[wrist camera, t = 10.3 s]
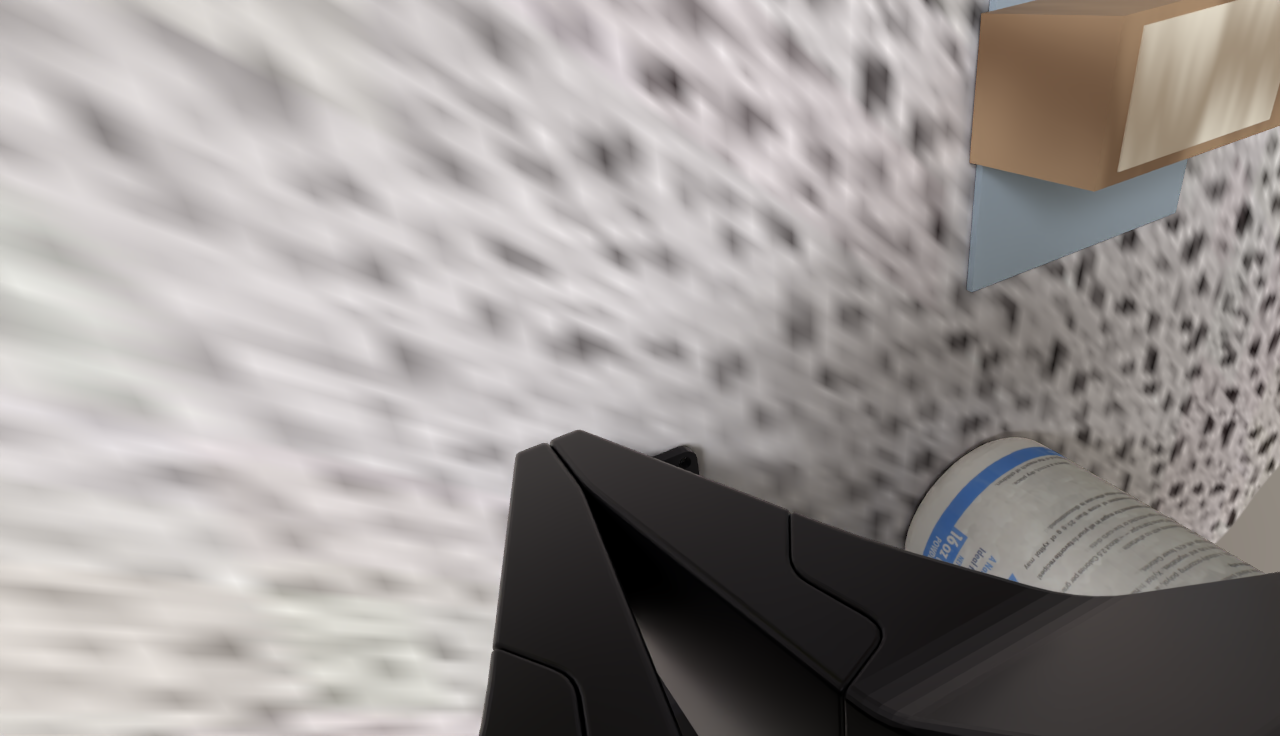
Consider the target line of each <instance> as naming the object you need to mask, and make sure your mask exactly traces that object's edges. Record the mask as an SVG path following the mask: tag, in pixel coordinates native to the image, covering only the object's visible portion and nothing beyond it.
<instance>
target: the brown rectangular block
mask: <svg viewBox="0 0 1280 736" xmlns="http://www.w3.org/2000/svg"><path fill="white" fill-rule="evenodd" d="M1277 126H1280V0H1035V1H1031V2H1027V3H1022V4H1018V5H1014V6H1010V7H1006V8H1002V9H998V10H994V11H990V12H986V13H981V24H980V37H979V50H978V62H977V75H976V88H975V100H974V113H973V125H972V138H971V151H970V163H973V164H977V165H982V166H986V167H990V168H994V169H999V170H1003V171H1007V172H1012V173H1016V174H1020V175H1025V176H1029V177H1033V178H1037V179H1042V180H1046V181H1050V182H1055V183H1059V184H1063V185H1068V186H1072V187H1076V188H1080V189H1085V190H1089V191H1093V192H1095V191H1098V190H1100V189H1103V188H1106V187H1109V186H1112V185H1115V184H1117V183H1120V182H1123V181H1126V180H1129V179H1131V178H1134V177H1137V176H1140V175H1143V174H1145V173H1148V172H1151V171H1154V170H1157V169H1159V168H1162V167H1165V166H1168V165H1171V164H1174V163H1176V162H1179V161H1182V160H1185V159H1188V158H1190V157H1193V156H1196V155H1199V154H1202V153H1204V152H1207V151H1210V150H1213V149H1216V148H1218V147H1221V146H1224V145H1227V144H1230V143H1232V142H1235V141H1238V140H1241V139H1244V138H1247V137H1249V136H1252V135H1255V134H1258V133H1261V132H1263V131H1266V130H1269V129H1272V128H1275V127H1277Z"/></svg>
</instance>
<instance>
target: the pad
mask: <svg viewBox="0 0 1280 736" xmlns="http://www.w3.org/2000/svg"><path fill="white" fill-rule="evenodd" d="M1031 1H1035V0H990V5H989V12H990V11H994V10H998V9H1002V8H1006V7H1010V6H1014V5H1018V4H1022V3H1027V2H1031ZM1187 160H1188V159H1185V160H1182V161H1179V162H1176V163H1174V164H1171V165H1168V166H1165V167H1162V168H1159V169H1157V170H1154V171H1151V172H1148V173H1145V174H1143V175H1140V176H1137V177H1134V178H1131V179H1129V180H1126V181H1123V182H1120V183H1117V184H1115V185H1112V186H1109V187H1106V188H1103V189H1100V190H1098V191H1095V192H1093V191H1089V190H1085V189H1080V188H1076V187H1072V186H1068V185H1063V184H1059V183H1055V182H1050V181H1046V180H1042V179H1037V178H1033V177H1029V176H1025V175H1020V174H1016V173H1012V172H1007V171H1003V170H999V169H994V168H990V167H986V166H982V165H977V166H976V179H975V191H974V204H973V216H972V229H971V241H970V253H969V266H968V278H967V290H968V291H970V292H974V291H977V290H979V289H982V288H984V287H987V286H989V285H992V284H995V283H997V282H1000V281H1002V280H1005V279H1007V278H1010V277H1012V276H1015V275H1018V274H1020V273H1023V272H1025V271H1028V270H1030V269H1033V268H1036V267H1038V266H1041V265H1043V264H1046V263H1048V262H1051V261H1053V260H1056V259H1059V258H1061V257H1064V256H1066V255H1069V254H1071V253H1074V252H1076V251H1079V250H1082V249H1084V248H1087V247H1089V246H1092V245H1094V244H1097V243H1099V242H1102V241H1105V240H1107V239H1110V238H1112V237H1115V236H1117V235H1120V234H1122V233H1125V232H1128V231H1130V230H1133V229H1135V228H1138V227H1140V226H1143V225H1145V224H1148V223H1151V222H1153V221H1156V220H1158V219H1161V218H1163V217H1166V216H1168V215H1171V214H1174V213H1176V209H1177V204H1178V200H1179V195H1180V191H1181V186H1182V182H1183V178H1184V173H1185V169H1186V164H1187Z"/></svg>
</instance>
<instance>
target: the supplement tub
mask: <svg viewBox="0 0 1280 736" xmlns="http://www.w3.org/2000/svg"><path fill="white" fill-rule="evenodd" d="M905 550H906V551H910V552H913V553H917V554H920V555H924V556H927V557H931V558H934V559H938V560H941V561H945V562H948V563H952V564H956V565H959V566H963V567H966V568H970V569H973V570H977V571H980V572H984V573H987V574H991V575H995V576H998V577H1002V578H1005V579H1009V580H1012V581H1016V582H1019V583H1023V584H1026V585H1030V586H1034V587H1038V588H1042V589H1046V590H1051V591H1056V592H1062V593H1068V594H1074V595H1087V596H1117V595H1126V594H1134V593H1141V592H1148V591H1154V590H1161V589H1168V588H1175V587H1181V586H1188V585H1195V584H1201V583H1208V582H1215V581H1222V580H1228V579H1235V578H1242V577H1248V576H1255V575H1262V574H1265V573H1263V572H1261V571H1260V570H1258V569H1256V568H1255V567H1253V566H1251V565H1250V564H1248V563H1246V562H1244V561H1243V560H1241V559H1239V558H1237V557H1236V556H1234V555H1232V554H1230V553H1229V552H1227V551H1225V550H1223V549H1222V548H1220V547H1218V546H1217V545H1215V544H1213V543H1212V542H1210V541H1208V540H1206V539H1205V538H1203V537H1201V536H1200V535H1198V534H1196V533H1194V532H1193V531H1191V530H1189V529H1188V528H1186V527H1184V526H1182V525H1181V524H1179V523H1177V522H1175V521H1174V520H1172V519H1170V518H1169V517H1167V516H1165V515H1163V514H1162V513H1160V512H1158V511H1157V510H1155V509H1153V508H1151V507H1150V506H1148V505H1146V504H1144V503H1143V502H1141V501H1139V500H1138V499H1136V498H1134V497H1132V496H1131V495H1129V494H1127V493H1126V492H1124V491H1122V490H1120V489H1119V488H1117V487H1115V486H1113V485H1112V484H1110V483H1108V482H1107V481H1105V480H1103V479H1101V478H1100V477H1098V476H1096V475H1094V474H1093V473H1091V472H1089V471H1088V470H1086V469H1084V468H1082V467H1081V466H1079V465H1077V464H1076V463H1074V462H1072V461H1071V460H1069V459H1067V458H1066V457H1064V456H1062V455H1060V454H1059V453H1057V452H1055V451H1053V450H1051V449H1050V448H1048V447H1046V446H1044V445H1042V444H1040V443H1038V442H1036V441H1034V440H1031V439H1027V438H1021V437H1009V438H1002V439H998V440H994V441H991V442H989V443H986V444H984V445H982V446H980V447H978V448H976V449H974V450H973V451H971V452H969V453H968V454H966V455H965V456H963V457H962V458H961V459H959V460H958V461H957V462H956V463H954V464H953V465H952V466H951V467H950V468H949V469H948V470H947V471H946V472H945V473H944V474H943V475H942V476H941V477H940V478H939V479H938V480H937V482H936V483H935V484H934V485H933V486H932V488H931V489H930V490H929V492H928V493H927V494H926V496H925V497H924V499H923V500H922V502H921V504H920V505H919V507H918V509H917V511H916V513H915V515H914V517H913V519H912V522H911V524H910V527H909V530H908V533H907V538H906V542H905Z"/></svg>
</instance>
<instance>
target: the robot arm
mask: <svg viewBox="0 0 1280 736" xmlns="http://www.w3.org/2000/svg"><path fill="white" fill-rule="evenodd" d="M685 457H686V459H685V460H684V461H683V462H682V463H679V462H680V461H681V459H683V458H685ZM493 650H494V651H493V652H492V654H491V661H490V669H489V678H488V685H487V691H486V697H485V703H484V710H483V716H482V722H481V728H480V732H479V736H1280V572H1275V573H1269V574H1262V575H1255V576H1248V577H1242V578H1235V579H1228V580H1222V581H1215V582H1208V583H1201V584H1195V585H1188V586H1181V587H1175V588H1168V589H1161V590H1154V591H1148V592H1141V593H1134V594H1126V595H1117V596H1087V595H1074V594H1068V593H1062V592H1056V591H1051V590H1046V589H1042V588H1038V587H1034V586H1030V585H1026V584H1023V583H1019V582H1016V581H1012V580H1009V579H1005V578H1002V577H998V576H995V575H991V574H987V573H984V572H980V571H977V570H973V569H970V568H966V567H963V566H959V565H956V564H952V563H948V562H945V561H941V560H938V559H934V558H931V557H927V556H924V555H920V554H917V553H913V552H910V551H906V550H903V549H900V548H897V547H893V546H890V545H887V544H884V543H880V542H877V541H874V540H870V539H867V538H864V537H861V536H858V535H855V534H853V533H850V532H847V531H844V530H841V529H839V528H836V527H833V526H830V525H827V524H825V523H822V522H819V521H817V520H814V519H811V518H809V517H806V516H804V515H801V514H798V513H796V512H793V513H791V514H790V512H789V510H787V509H785V508H782V507H780V506H777V505H774V504H772V503H769V502H767V501H764V500H762V499H759V498H756V497H754V496H751V495H749V494H746V493H743V492H741V491H738V490H736V489H733V488H730V487H728V486H725V485H723V484H720V483H718V482H715V481H712V480H710V479H707V478H705V477H702V476H699V469H698V462H697V457H696V455H695V454H694V452H693V451H692V450H691V449H690V448H688V447H686V446H680V447H677V448H675V449H672V450H670V451H667V452H665V453H662V454H660V455H657V456H655V457H650V456H648V455H645V454H642V453H640V452H637V451H635V450H632V449H630V448H627V447H624V446H622V445H619V444H617V443H614V442H611V441H609V440H606V439H604V438H601V437H598V436H596V435H593V434H591V433H588V432H586V431H583V430H575V431H573V432H570V433H568V434H565V435H562V436H560V437H557V438H555V439H553V440H552V441H551V442H550V445H549V444H547V443H542V444H539V445H537V446H534V447H531V448H529V449H526V450H524V451H521V452H519V453H518V454H517V455H516V458H515V465H514V473H513V482H512V490H511V498H510V507H509V515H508V523H507V531H506V540H505V548H504V556H503V565H502V573H501V581H500V590H499V598H498V606H497V615H496V623H495V631H494V640H493Z"/></svg>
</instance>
